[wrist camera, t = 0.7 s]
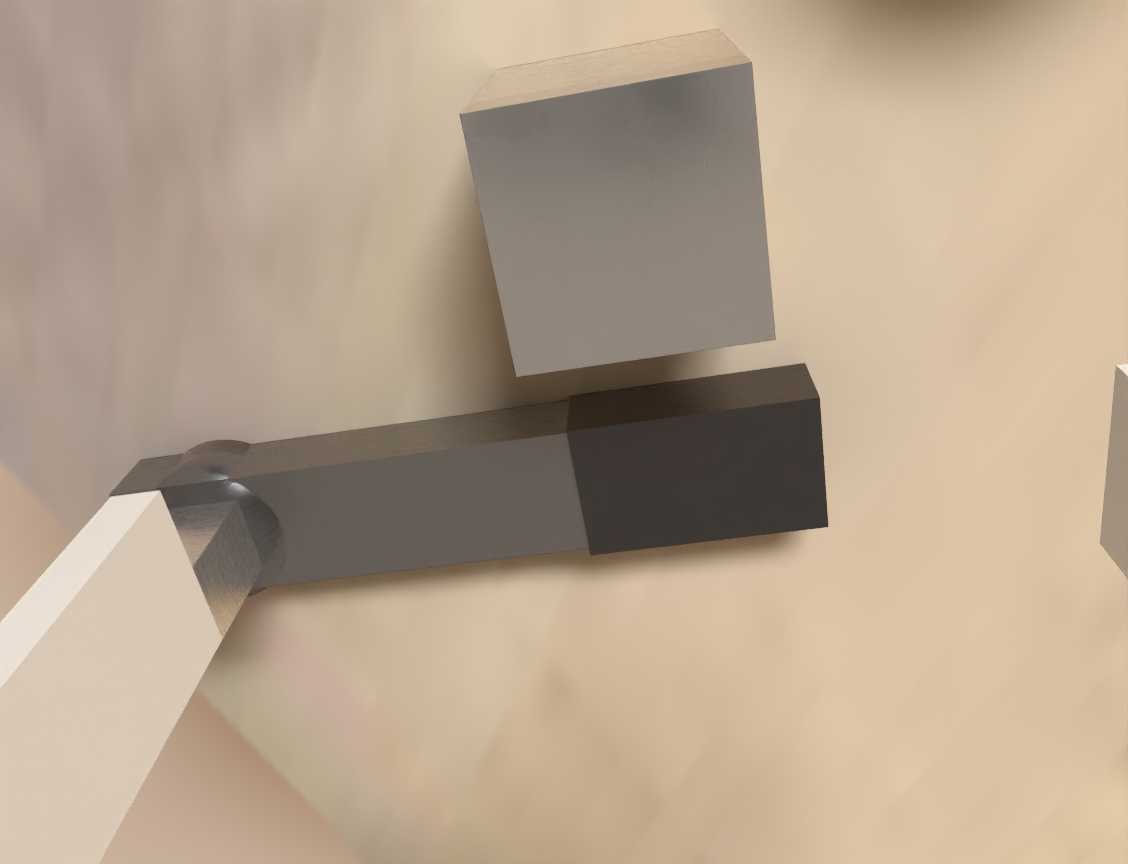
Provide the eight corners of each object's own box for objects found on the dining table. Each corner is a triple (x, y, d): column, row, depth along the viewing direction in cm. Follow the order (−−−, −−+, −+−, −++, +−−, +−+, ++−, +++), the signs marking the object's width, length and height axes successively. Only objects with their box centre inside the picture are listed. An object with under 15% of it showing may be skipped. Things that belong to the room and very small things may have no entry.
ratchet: (186, 568, 38) (108, 682, 32) (137, 451, 36) (43, 552, 30) (814, 490, 35) (852, 601, 29) (804, 357, 33) (844, 449, 27)
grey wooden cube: (498, 69, 29) (459, 114, 22) (718, 28, 28) (751, 62, 21) (539, 277, 32) (516, 377, 25) (740, 246, 31) (775, 339, 24)
